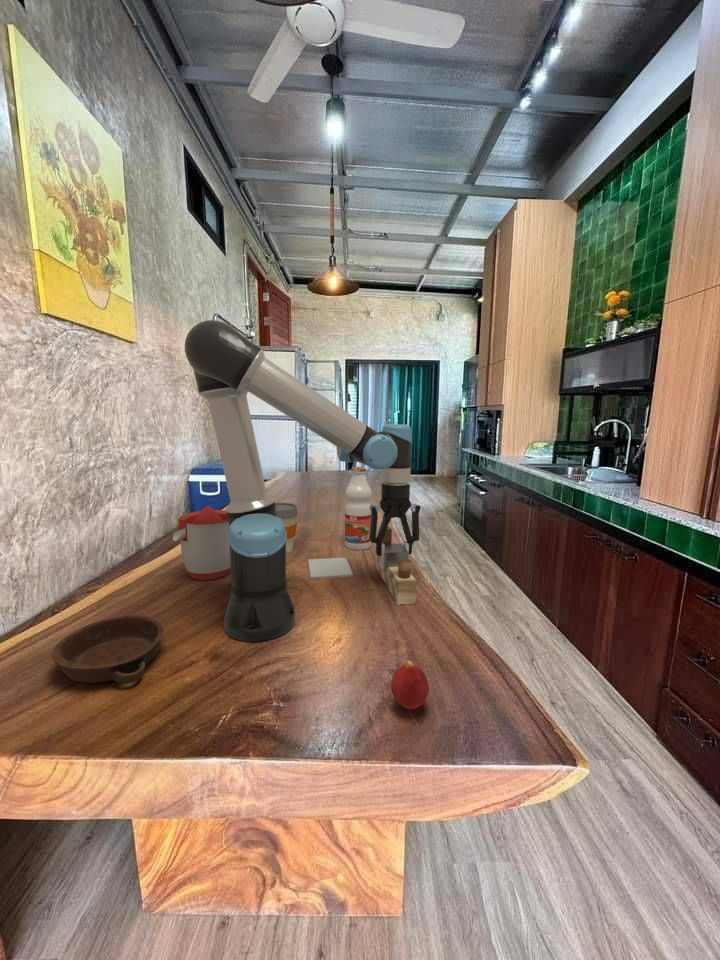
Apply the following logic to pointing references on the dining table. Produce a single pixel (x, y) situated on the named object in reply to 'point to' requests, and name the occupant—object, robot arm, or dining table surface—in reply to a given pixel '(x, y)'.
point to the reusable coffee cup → (288, 521)
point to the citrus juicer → (205, 543)
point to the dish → (110, 649)
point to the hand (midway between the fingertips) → (393, 565)
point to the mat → (329, 568)
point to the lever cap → (394, 554)
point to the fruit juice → (358, 511)
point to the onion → (410, 686)
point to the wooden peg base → (398, 577)
